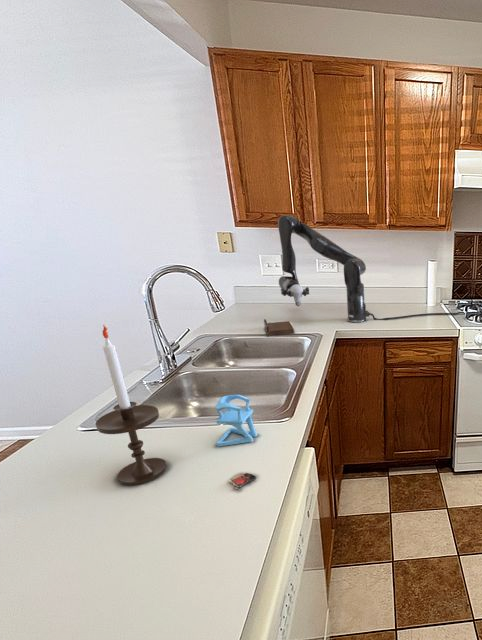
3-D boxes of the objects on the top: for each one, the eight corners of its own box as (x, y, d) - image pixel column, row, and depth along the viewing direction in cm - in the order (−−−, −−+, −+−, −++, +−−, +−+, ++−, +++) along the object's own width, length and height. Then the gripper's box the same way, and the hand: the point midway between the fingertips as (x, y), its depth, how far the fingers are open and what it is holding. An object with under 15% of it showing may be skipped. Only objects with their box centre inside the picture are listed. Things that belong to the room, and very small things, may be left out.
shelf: (289, 325, 204) (288, 317, 203) (294, 333, 192) (293, 324, 190) (264, 328, 199) (263, 319, 198) (267, 336, 187) (266, 327, 185)
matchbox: (258, 476, 89) (257, 474, 89) (240, 490, 85) (240, 488, 85) (241, 471, 91) (241, 470, 91) (223, 485, 86) (223, 483, 86)
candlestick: (176, 474, 90) (141, 325, 77) (117, 495, 83) (67, 335, 70) (165, 453, 97) (131, 314, 85) (110, 471, 90) (64, 322, 78)
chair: (249, 447, 101) (242, 404, 96) (215, 446, 100) (207, 404, 96) (260, 431, 108) (255, 391, 104) (230, 430, 108) (223, 390, 103)
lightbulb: (299, 308, 195) (297, 286, 191) (289, 306, 197) (287, 284, 193) (307, 305, 200) (305, 283, 196) (297, 304, 202) (295, 282, 198)
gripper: (277, 281, 203) (281, 287, 189) (306, 280, 210) (312, 286, 196) (279, 296, 206) (283, 302, 192) (307, 294, 212) (313, 300, 198)
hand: (297, 294), depth 194 cm, fingers closed on lightbulb, 6 cm apart
